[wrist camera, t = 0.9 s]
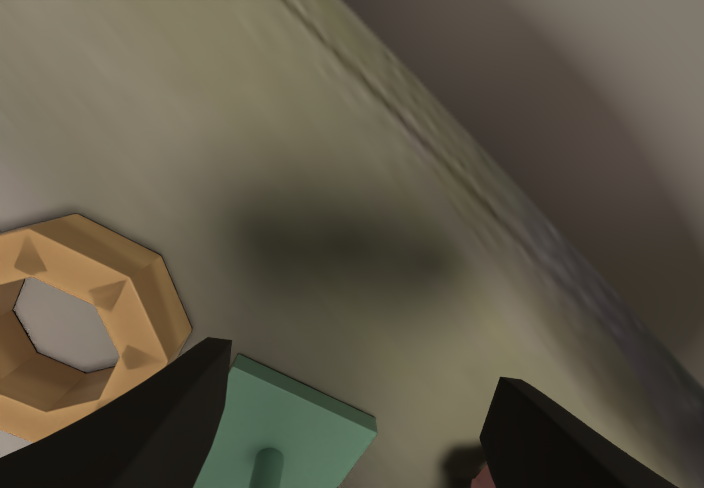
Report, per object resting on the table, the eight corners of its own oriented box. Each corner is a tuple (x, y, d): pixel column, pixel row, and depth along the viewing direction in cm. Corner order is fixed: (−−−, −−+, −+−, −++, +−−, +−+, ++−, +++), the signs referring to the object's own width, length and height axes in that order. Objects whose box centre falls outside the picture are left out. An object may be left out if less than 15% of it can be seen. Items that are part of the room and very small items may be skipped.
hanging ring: (139, 426, 21) (109, 472, 19) (-48, 350, 20) (-115, 386, 17) (217, 283, 19) (196, 309, 16) (12, 180, 17) (-52, 189, 14)
